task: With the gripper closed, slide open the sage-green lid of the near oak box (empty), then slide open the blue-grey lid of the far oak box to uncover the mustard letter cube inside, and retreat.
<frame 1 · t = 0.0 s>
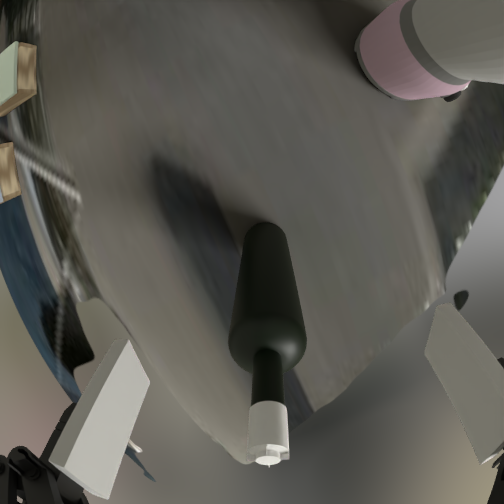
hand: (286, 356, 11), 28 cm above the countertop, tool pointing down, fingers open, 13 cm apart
wine bottle: (265, 242, 39), on the countertop
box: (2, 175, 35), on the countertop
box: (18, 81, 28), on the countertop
blender: (401, 69, 28), on the countertop
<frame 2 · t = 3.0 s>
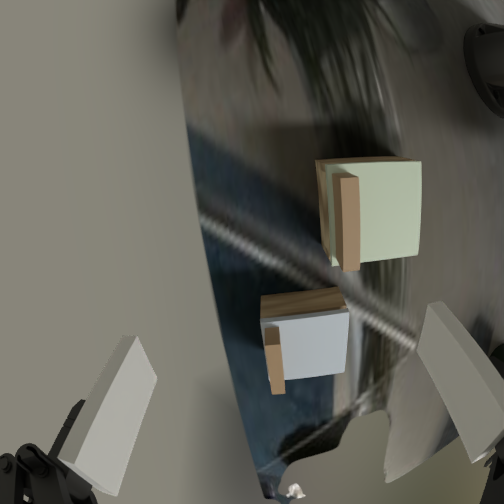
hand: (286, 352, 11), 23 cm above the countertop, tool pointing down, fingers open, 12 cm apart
wine bottle: (497, 353, 41), on the countertop
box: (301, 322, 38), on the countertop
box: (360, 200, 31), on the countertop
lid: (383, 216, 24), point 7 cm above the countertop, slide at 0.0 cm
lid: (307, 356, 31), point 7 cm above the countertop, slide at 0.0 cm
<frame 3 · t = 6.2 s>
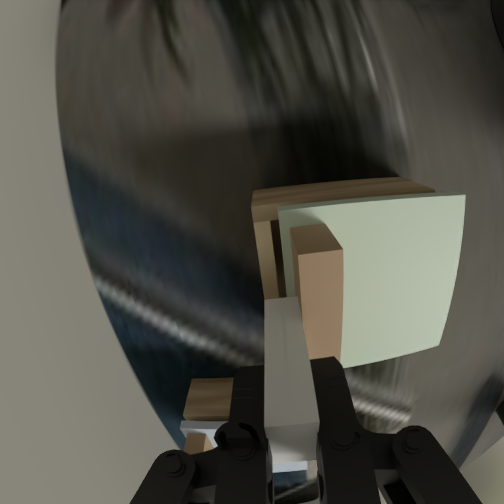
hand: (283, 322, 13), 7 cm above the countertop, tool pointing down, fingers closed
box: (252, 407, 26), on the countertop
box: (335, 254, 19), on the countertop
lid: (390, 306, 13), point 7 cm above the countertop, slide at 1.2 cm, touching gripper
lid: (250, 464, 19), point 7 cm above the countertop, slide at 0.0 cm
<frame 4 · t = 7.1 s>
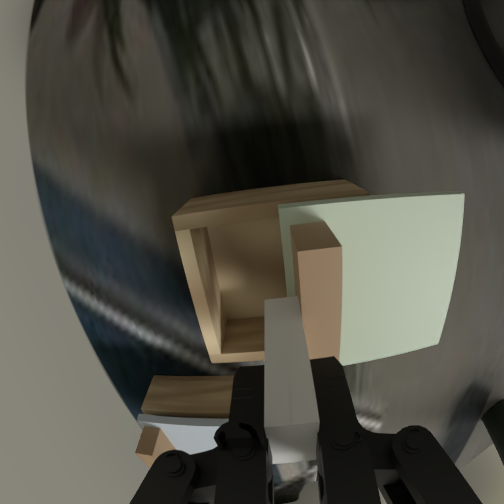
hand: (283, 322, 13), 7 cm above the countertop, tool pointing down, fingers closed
wine bottle: (493, 409, 30), on the countertop
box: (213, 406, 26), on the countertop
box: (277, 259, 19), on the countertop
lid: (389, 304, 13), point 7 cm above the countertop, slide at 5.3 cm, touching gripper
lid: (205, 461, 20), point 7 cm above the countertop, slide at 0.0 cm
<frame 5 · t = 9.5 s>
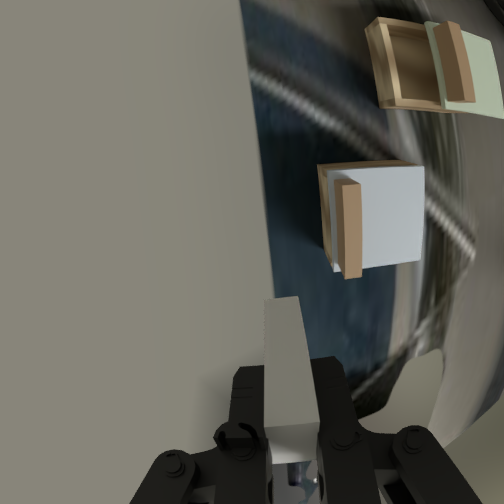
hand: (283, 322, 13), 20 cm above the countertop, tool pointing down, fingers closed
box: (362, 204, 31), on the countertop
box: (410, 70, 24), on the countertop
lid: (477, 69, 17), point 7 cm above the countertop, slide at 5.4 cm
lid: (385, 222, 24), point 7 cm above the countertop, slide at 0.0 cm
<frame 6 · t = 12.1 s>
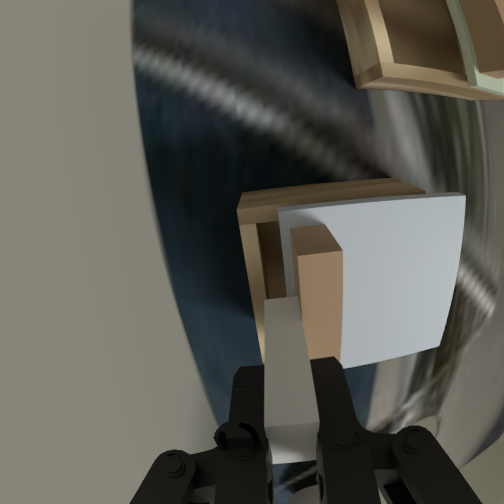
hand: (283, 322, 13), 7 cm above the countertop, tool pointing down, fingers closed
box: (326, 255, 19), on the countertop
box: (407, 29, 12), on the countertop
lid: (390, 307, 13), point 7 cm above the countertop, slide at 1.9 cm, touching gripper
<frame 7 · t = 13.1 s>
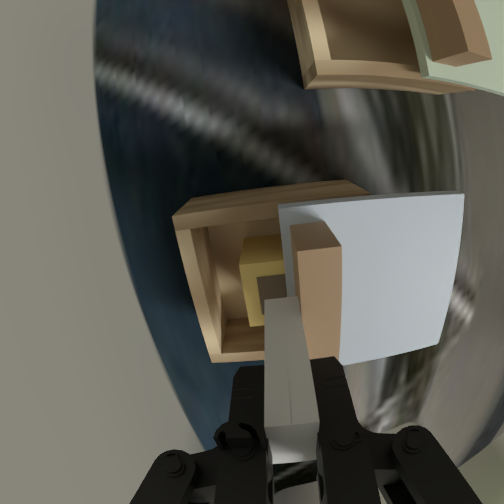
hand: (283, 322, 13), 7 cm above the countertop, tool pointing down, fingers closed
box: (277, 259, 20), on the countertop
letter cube: (277, 262, 19), point 1 cm above the countertop, touching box
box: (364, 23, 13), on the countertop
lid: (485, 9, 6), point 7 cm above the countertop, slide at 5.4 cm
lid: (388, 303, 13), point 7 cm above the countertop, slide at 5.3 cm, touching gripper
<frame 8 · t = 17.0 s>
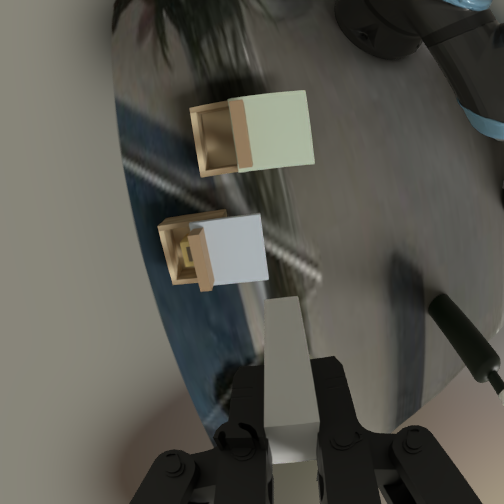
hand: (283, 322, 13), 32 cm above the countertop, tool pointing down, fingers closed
wine bottle: (438, 305, 50), on the countertop
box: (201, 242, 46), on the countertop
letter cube: (200, 243, 46), point 1 cm above the countertop, touching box
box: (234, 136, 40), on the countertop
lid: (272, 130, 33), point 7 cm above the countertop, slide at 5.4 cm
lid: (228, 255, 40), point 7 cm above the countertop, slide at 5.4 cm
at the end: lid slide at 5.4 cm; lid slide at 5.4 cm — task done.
